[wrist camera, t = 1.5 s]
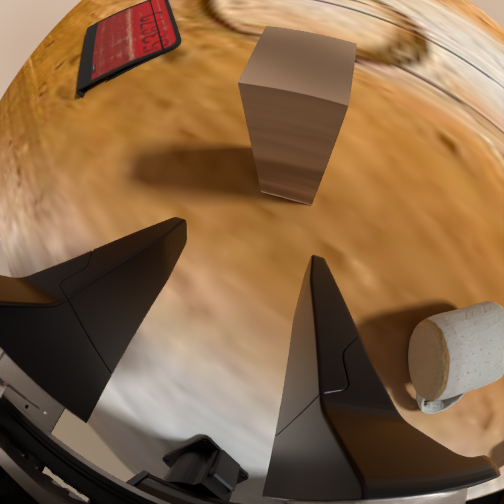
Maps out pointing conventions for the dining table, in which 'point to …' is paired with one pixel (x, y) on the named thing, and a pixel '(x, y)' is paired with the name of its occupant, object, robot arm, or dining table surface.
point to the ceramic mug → (456, 354)
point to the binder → (127, 41)
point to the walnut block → (295, 107)
